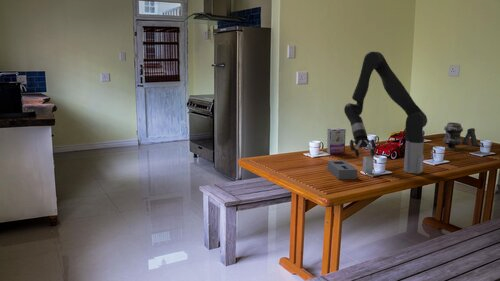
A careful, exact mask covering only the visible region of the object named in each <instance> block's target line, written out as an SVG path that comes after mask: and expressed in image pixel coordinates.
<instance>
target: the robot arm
mask: <svg viewBox="0 0 500 281" xmlns="http://www.w3.org/2000/svg"><path fill="white" fill-rule="evenodd" d="M374 70H375V72H376V73H377V74H378V76H379V77H380V79H381V82H382V86H383V89H384V90H385V92H386V93H387V95H388V96H389V98H390V99H391V100H392V101H393V102H394V103H396V105H398V106H399V107H400V108H401V109H402V110H403V111H404V112H405V114H406V115H407V117H406V119H405V129H404V130H405V131H404V133H405V150H404V162H403V172H405V173H408V174H419V175H420V174H421V173H422V172H423V169H424V158H425V155H424V146H425V145H424V143H425V136H424V133H423V132H424V130H423V129H424V128H425V126H426V125H427V124H428V117H427V115H426V113H425V112H424V111H422V109H421V108H420V107H419V106H418V105H417V104H416V102H415V101H414V99H413V98H412V96H411V95H410V93H409V92H408V90H407V89H406V87H405V86H404V85H403V83H402V82H401V80H400V79H399V78H398V77H397V75H396V74H395V73H394V71H393V70H392V68H391V67H390V66H389V64H388V62H387V60H386V59H385V57H384V55H383V54H382V53H381V52H379V51H369V52H367V53H366V54H365V55H364V57H363V62H362V66H361V70H360V74H359V77H358V80H357V83H356V86H355V88H354V91H353V94H352V95H351V96H352V97H351V98H352V100H353V101H355V102H356V103H350V102H348V103H346V104H345V106H344V110H343V111H344V114H345V116H346V118H347V119H348V121H349V122H350V127H351V133H352V138H353V139H350V141H349V148H350V151H352V152H354V154H355V156H356V157H357V158H359V157H360V152H359V148H360V149H367V150H369V152H370V156H371V157H372V158H374V157H375V151H376V149H377V145H376V143H375V139H371V140H369V137H368V133H367V130H366V127H365V124H364V121H363V118H362V116H360V115H361V114H362V113H363V110H364V103H365V98H366V96H367V94H368V90H369V86H370V80H371V76H372V74H373V72H374ZM354 144H355V145H356V146H355V145H354Z"/></svg>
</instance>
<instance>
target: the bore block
mask: <svg viewBox="0 0 500 281" xmlns="http://www.w3.org/2000/svg"><path fill="white" fill-rule="evenodd" d="M326 165H327V166H326V167H327V168H326V169H327V171H328V172H330V174H332V175H333V176H334V177H336V179H337V180H355V179H358V169H357V168H356V167H354V166H353V165H351V164H350V163H349V162H348V161H346V160H327V164H326Z"/></svg>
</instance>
